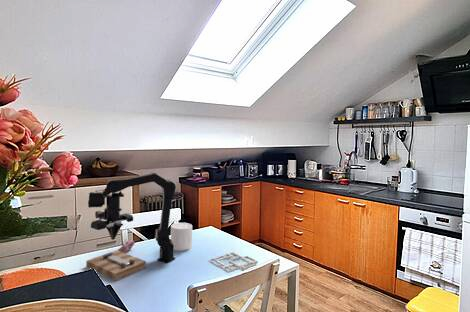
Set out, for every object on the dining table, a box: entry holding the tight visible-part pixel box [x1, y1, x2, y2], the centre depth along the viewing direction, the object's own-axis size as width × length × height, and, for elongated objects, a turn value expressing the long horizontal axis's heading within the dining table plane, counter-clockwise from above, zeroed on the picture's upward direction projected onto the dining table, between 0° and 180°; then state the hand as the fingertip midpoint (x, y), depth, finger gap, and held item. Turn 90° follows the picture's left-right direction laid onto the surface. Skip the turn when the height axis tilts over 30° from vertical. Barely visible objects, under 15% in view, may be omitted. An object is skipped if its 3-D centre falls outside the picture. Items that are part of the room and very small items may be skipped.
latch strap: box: [107, 255, 131, 266], centre depth 138 cm, size 14×3×1 cm, turn 57°
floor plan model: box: [208, 251, 259, 273], centre depth 151 cm, size 19×25×2 cm
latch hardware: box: [102, 251, 134, 268], centre depth 139 cm, size 16×6×2 cm, turn 57°
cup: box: [170, 222, 193, 252], centre depth 167 cm, size 12×12×12 cm
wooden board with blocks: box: [85, 249, 147, 282], centre depth 139 cm, size 22×16×3 cm
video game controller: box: [117, 239, 136, 254], centre depth 158 cm, size 10×5×7 cm, turn 169°
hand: (112, 239), depth 140 cm, fingers closed
